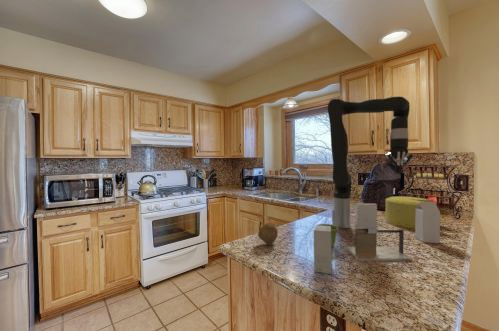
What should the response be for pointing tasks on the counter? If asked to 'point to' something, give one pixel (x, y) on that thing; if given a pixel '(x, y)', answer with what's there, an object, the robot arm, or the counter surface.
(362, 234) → the pin leaf jig
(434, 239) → the milk carton
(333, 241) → the plant pot
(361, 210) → the knuckle leaf
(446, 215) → the counter surface
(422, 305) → the counter surface
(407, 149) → the robot arm
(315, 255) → the skincare box
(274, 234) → the natural sponge
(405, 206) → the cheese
